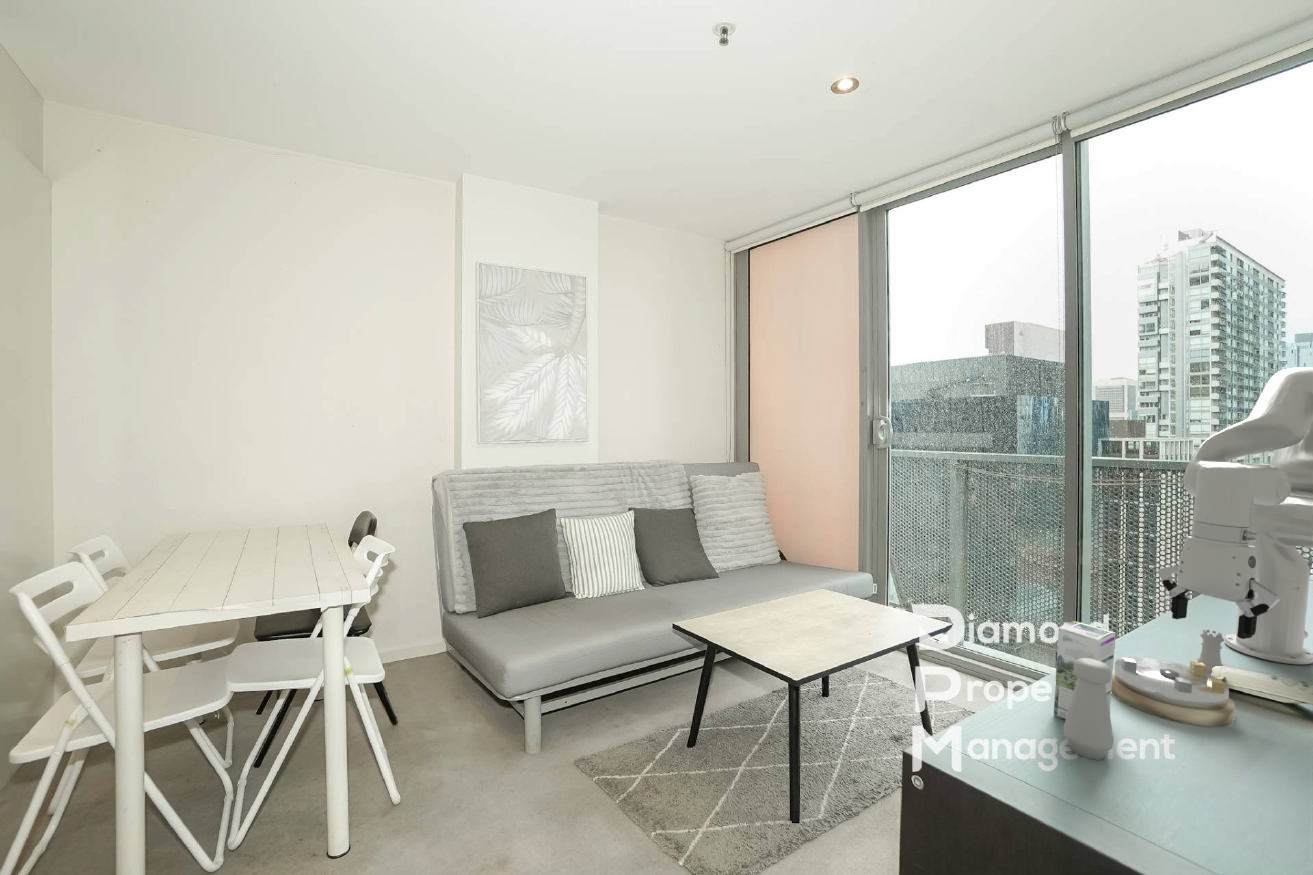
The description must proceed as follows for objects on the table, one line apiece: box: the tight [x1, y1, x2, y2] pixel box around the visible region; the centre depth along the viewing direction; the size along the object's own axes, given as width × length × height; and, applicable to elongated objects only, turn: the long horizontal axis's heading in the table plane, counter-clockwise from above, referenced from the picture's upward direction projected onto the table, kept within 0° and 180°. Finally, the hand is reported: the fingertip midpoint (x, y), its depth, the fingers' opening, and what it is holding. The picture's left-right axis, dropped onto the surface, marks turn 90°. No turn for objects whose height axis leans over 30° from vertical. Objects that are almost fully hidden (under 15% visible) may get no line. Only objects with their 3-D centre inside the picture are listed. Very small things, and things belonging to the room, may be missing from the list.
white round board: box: [1113, 656, 1230, 710], centre depth 100 cm, size 14×14×4 cm
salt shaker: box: [1063, 658, 1115, 761], centre depth 85 cm, size 6×6×13 cm
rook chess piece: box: [1195, 629, 1225, 675], centre depth 110 cm, size 4×4×8 cm
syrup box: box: [1053, 620, 1116, 721], centre depth 93 cm, size 6×6×14 cm
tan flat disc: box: [1111, 668, 1236, 727], centre depth 100 cm, size 16×16×2 cm
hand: (1210, 627), depth 109 cm, fingers open, 9 cm apart
